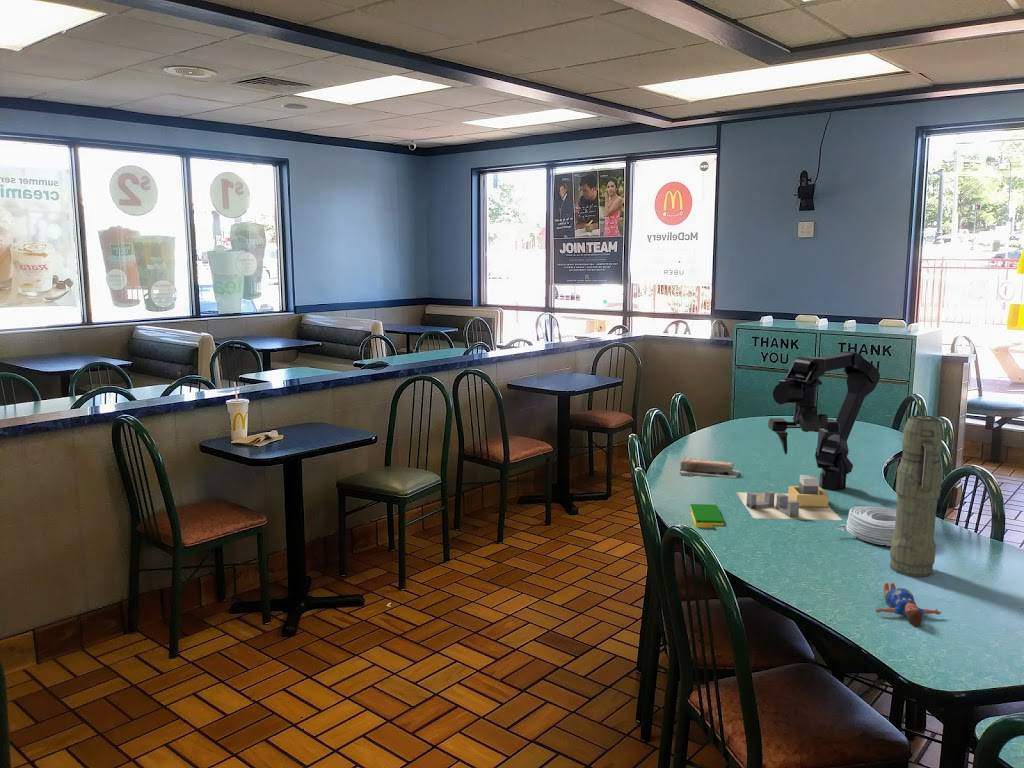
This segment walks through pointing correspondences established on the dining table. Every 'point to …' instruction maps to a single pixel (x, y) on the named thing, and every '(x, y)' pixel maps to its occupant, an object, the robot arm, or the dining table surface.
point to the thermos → (917, 497)
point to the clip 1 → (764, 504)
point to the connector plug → (808, 484)
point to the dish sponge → (706, 515)
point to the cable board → (775, 514)
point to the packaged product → (707, 468)
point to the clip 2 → (787, 506)
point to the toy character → (903, 604)
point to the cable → (871, 524)
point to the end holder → (808, 498)
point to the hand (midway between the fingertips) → (802, 454)
